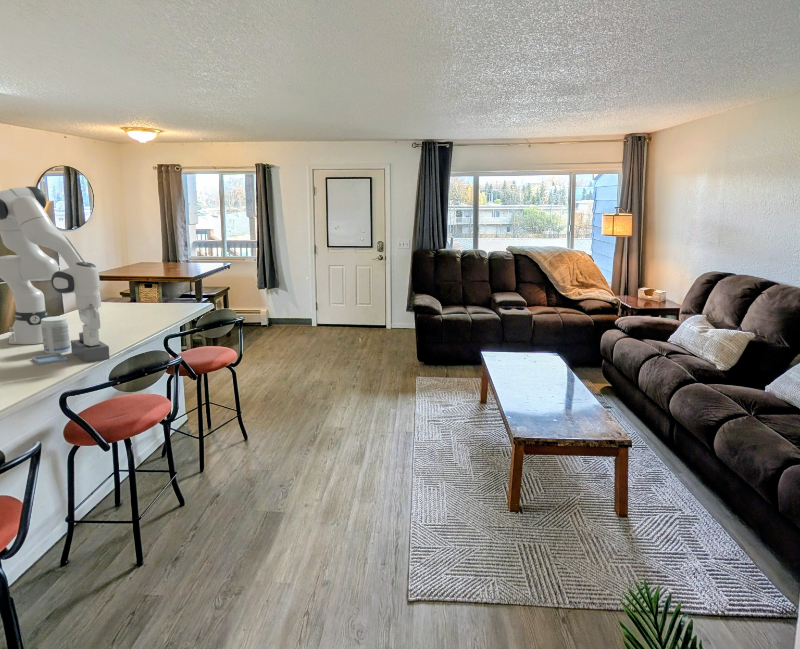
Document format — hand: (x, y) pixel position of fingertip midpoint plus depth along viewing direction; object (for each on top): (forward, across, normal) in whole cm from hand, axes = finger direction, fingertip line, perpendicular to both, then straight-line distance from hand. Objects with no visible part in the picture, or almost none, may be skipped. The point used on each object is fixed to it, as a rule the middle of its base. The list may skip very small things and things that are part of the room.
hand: (91, 335), depth 219 cm
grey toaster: (+10, +4, 0) cm, 11 cm away
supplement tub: (+10, +20, +10) cm, 24 cm away
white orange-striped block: (+4, 0, 0) cm, 4 cm away
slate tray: (+10, +5, +14) cm, 18 cm away
